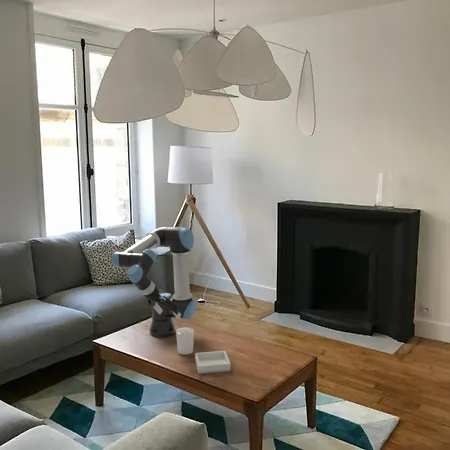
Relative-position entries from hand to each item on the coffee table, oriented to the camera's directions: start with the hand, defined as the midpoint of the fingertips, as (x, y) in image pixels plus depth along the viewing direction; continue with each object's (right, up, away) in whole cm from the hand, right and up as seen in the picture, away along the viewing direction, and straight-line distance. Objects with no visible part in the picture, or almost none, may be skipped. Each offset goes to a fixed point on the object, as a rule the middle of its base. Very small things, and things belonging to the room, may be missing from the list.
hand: (170, 314), depth 270 cm
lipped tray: (+22, -25, -5) cm, 34 cm away
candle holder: (+7, -23, +13) cm, 27 cm away
